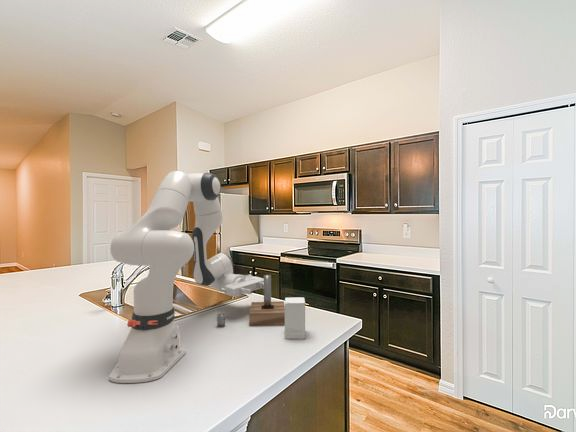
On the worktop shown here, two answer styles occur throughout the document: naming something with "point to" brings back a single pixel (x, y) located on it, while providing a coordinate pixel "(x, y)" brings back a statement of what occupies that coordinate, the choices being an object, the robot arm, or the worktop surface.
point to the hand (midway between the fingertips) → (259, 289)
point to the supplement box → (295, 318)
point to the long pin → (267, 291)
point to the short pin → (221, 320)
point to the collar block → (267, 314)
